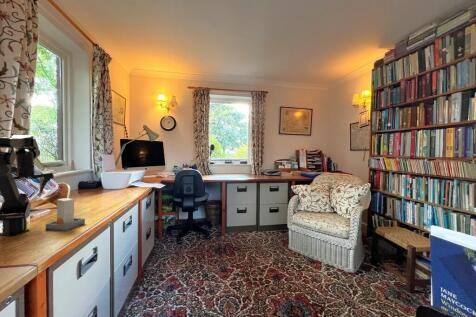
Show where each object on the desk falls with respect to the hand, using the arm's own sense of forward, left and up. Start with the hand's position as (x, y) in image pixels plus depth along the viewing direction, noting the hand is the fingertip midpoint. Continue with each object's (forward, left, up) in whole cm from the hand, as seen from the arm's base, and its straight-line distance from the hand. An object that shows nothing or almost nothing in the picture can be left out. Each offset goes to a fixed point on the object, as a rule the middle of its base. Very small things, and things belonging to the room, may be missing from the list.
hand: (27, 195), depth 105 cm
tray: (-1, -21, -13) cm, 25 cm away
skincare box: (-1, -21, -13) cm, 24 cm away
